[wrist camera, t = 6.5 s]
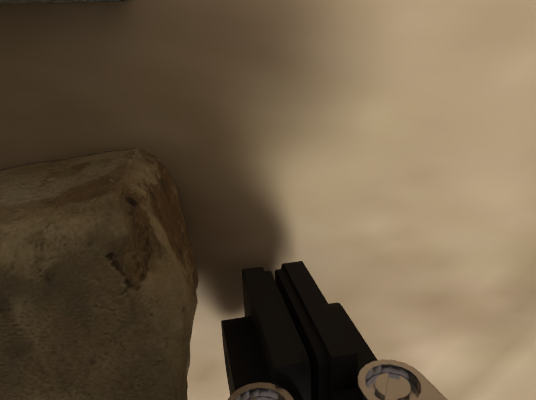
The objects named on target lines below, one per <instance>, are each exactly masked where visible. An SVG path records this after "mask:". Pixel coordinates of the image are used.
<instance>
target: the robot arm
mask: <svg viewBox="0 0 536 400" xmlns="http://www.w3.org/2000/svg"><path fill="white" fill-rule="evenodd" d="M242 280H243V295H244V309H245V317H242V318H236V319H229V320H223V321H222V322H221V323H222V336H223V347H224V356H225V365H226V372H227V378H228V384H229V390H230V397H229V398H228V400H447V399H446V398H445V397H444V396H443V395H442V394H441V393H440V392H439V391H438V390H437V389H436V388H435V387H434V386H433V385H432V384H431V383H430V382H429V381H428V380H427V379H426V378H425V377H424V376H423V375H422V374H421V373H420V372H419V371H418V370H416V369H415V368H414V367H412V366H410V365H408V364H406V363H403V362H399V361H395V360H377V359H376V357H375V356H374V354H373V353H372V351H371V350H370V348H369V347H368V345H367V343H366V342H365V340H364V339H363V337H362V336H361V334H360V333H359V331H358V330H357V328H356V327H355V325H354V324H353V322H352V321H351V319H350V318H349V316H348V315H347V313H346V311H345V310H344V308H343V307H342V306H341V304H340V303H331V304H328V303H327V301H326V299H325V298H324V296H323V294H322V293H321V291H320V290H319V288H318V286H317V285H316V283H315V281H314V280H313V278H312V276H311V275H310V273H309V271H308V270H307V268H306V267H305V265H304V263H303V262H302V261H299V262H292V263H284V264H282V267H281V269H279V270H276V271H275V280H274V277H273V275H272V273H271V271H264V269H263V267H255V268H248V269H242Z"/></svg>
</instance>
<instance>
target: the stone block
mask: <svg viewBox="0 0 536 400" xmlns="http://www.w3.org/2000/svg"><path fill="white" fill-rule="evenodd" d="M197 285H198V275H197V270H196V266H195V261H194V256H193V252H192V249H191V246H190V242H189V238H188V235H187V231H186V226H185V221H184V216H183V213H182V210H181V208H180V206H179V195H178V191H177V187H176V185H175V184H174V182H173V180H172V178H171V177H170V175H169V173H168V171H167V170H166V168H165V167H164V166H163V165H162V164H161V163H160V162H159V161H158V159H157V158H156V157H155V156H154V155H151V154H149V153H147V152H144V151H142V150H140V149H131V150H125V151H111V152H105V153H99V154H94V155H88V156H82V157H76V158H71V159H65V160H59V161H52V162H38V163H33V164H28V165H23V166H18V167H14V168H9V169H4V170H0V400H187V387H188V385H187V374H188V369H189V365H190V339H191V334H192V325H193V320H194V315H195V311H196V306H197V302H198V301H197V296H196V289H197Z"/></svg>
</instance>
